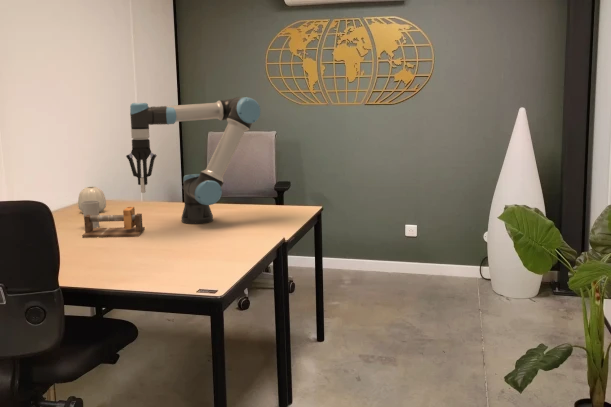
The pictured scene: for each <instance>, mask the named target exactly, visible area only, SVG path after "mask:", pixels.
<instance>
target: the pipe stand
mask: <svg viewBox="0 0 611 407" xmlns="http://www.w3.org/2000/svg"><path fill="white" fill-rule="evenodd" d="M142 214H143V213H135V215H132V221H135V226H134V227H133V228H132V229H124V227H123V226H121V227H120V226H119V227H98V228H93V222H99V223H100V222H102V223H103V222H104V223H105V222H106V223H107V222H124V215H123V214H111V215H110V214H105V215H104V214H103V215H101V214H99V215H93V216H92V215H86V216H85V217H84V216H83V220H84V221H83V222H84V231H85V232H84V233H83V234H82V238H83V239H85V238H86V239H89V238H91V239H92V238H93V239H95V238H97V237H99V238H131V237H132V238H133V237H134V238H135V237H139V236H140V235H142V234H143V232H144V231H145V230H146V228H145V226H144V225H143V215H142Z"/></svg>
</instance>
